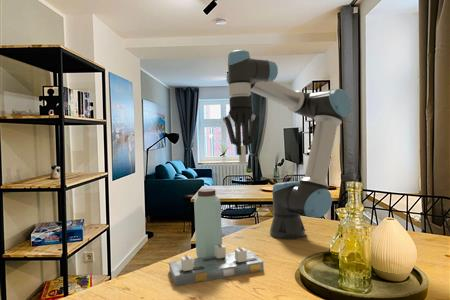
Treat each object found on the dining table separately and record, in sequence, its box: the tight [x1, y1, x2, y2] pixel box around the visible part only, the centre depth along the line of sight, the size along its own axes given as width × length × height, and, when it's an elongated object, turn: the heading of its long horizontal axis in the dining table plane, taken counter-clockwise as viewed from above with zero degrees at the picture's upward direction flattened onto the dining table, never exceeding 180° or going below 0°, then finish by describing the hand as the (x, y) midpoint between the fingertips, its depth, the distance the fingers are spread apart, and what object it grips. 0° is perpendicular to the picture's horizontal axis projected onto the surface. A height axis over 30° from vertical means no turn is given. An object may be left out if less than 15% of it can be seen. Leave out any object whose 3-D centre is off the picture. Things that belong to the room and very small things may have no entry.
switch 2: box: [215, 243, 227, 258], centre depth 115 cm, size 3×3×4 cm
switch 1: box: [180, 254, 193, 271], centre depth 106 cm, size 3×3×4 cm
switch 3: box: [234, 246, 247, 262], centre depth 111 cm, size 3×3×4 cm
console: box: [168, 249, 265, 287], centre depth 112 cm, size 29×12×3 cm, turn 107°
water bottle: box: [193, 188, 223, 258], centre depth 124 cm, size 10×10×25 cm
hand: (242, 164), depth 118 cm, fingers closed
